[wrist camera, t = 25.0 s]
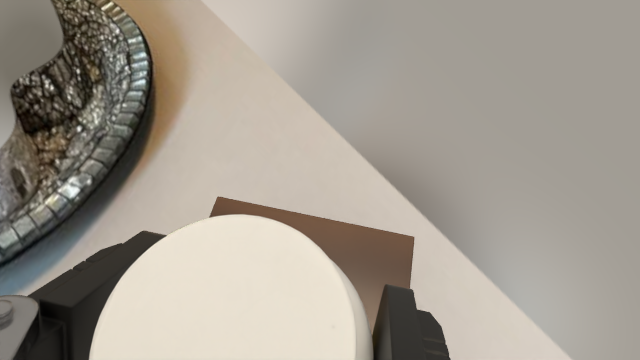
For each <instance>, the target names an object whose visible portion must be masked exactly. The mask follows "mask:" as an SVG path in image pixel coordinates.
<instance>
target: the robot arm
mask: <svg viewBox="0 0 640 360" xmlns="http://www.w3.org/2000/svg"><path fill="white" fill-rule="evenodd" d="M166 236H167V235H162V234H158V233H153V232H148V231H142V232H140V233H139V234H137V235H135V236H134V237H132V238H131V239H129V240H128V241H126V242H125V243H123V244H122V243H120V244H117V245H114V246H111V247H108V248H105V249H102V250H100V251H98V252H97V253H95V254H94V255H92V256H90V257H89V258H87V259H86V261H82V262H81V263H79V264H78V265H76V266H74V268H73V270H72V269H70V270H68V271H67V272H65V273H63V274H62V275H60V276H59V277H57V278H55V279H54V280H52V281H51V282H49V283H47V284H46V285H44V286H43V287H41V288H39V289H38V290H36V291H35V292H33V293H31V294H30V295H28V296H27V297H26V296H22V295H4V296H0V360H89V355H90V349H91V344H92V340H93V336H94V331H95V328H96V326H97V323H98V320H99V317H100V315H101V312H102V310H103V308H104V306H105V304H106V302H107V300H108V298H109V296H110V294H111V293H112V291H113V290H114V288H115V286H116V285H117V283H118V282H119V280H120V279H121V277H122V276H123V275H124V274H125V272H126V271H127V270H128V269H129V267H130V266H131V265H132V264H133V263H134V262H135V261H136V260H137V259H138V258H139V257H140V256H141V255H142V254H143V253H145V252H146V251H147V250H148V249H149V248H150V247H152V246H153V245H154V244H155V243H157V242H158V241H160V240H161V239H163V238H164V237H166ZM372 342H373V355H374V356H373V360H451V359H450V358H449V352H448V349H447V345H445V338H444V334H443V331H442V327H441V326H440V324H439V323H438V322H437V321H436V319H435V318H434V317H433V316H432V314H431V313H430V312H426V311H421V310H417V308H416V303H415V298H414V292H413V290H412V289H408V288H403V287H399V286H394V285H390V284H385V286H384V289H383V292H382V296H381V301H380V305H379V309H378V313H377V317H376V321H375V325H374V329H373V334H372Z"/></svg>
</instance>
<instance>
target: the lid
mask: <svg viewBox="0 0 640 360" xmlns="http://www.w3.org/2000/svg"><path fill="white" fill-rule="evenodd" d="M238 214H244V215H252V216H260V217H264V218H269V219H272V220H275V221H278V222H281V223H283V224H286V225H288V226H290V227H292V228H294V229H296V230H297V231H299V232H301V233H302V234H304V235H305V236H307V237H308V238H309V239H311V240H312V241H313V242H314V243H315V244H316V245H317V246H319V247H320V248H321V249H322V251H323V252H324V253H325V254H326V255H327V256H328V257H329V258H330V259H331V260H332V261H333V262H334V263H335V264H336V265H337V266H338V267H339V268H340V269H341V270H342V271H343V273H344V274H345V275H346V276H347V277H348V279H349V280H350V282H351V283H352V285H353V286H354V288H355V290H356V291H357V293H358V295H359V297H360V299H361V301H362V303H363V306H364V309H365V312H366V314H367V318H368V321H369V325H370V330H371V334H373V329H374V325H375V321H376V317H377V313H378V309H379V305H380V301H381V296H382V292H383V289H384V286H385V284H390V285H394V286H399V287H403V288H408V289H410V280H411V269H412V258H413V248H414V237H412V236H407V235H403V234H398V233H393V232H388V231H383V230H378V229H373V228H369V227H364V226H359V225H354V224H349V223H344V222H339V221H335V220H330V219H325V218H320V217H315V216H310V215H305V214H301V213H296V212H291V211H286V210H281V209H276V208H271V207H267V206H262V205H257V204H252V203H247V202H242V201H237V200H233V199H228V198H223V197H217V199H216V202H215V204H214V207H213V209H212V212H211V215H210V217H209V218H211V217H216V216H223V215H238Z"/></svg>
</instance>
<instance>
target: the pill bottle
mask: <svg viewBox="0 0 640 360" xmlns="http://www.w3.org/2000/svg"><path fill="white" fill-rule="evenodd" d="M373 356H374V355H373V342H372V334H371V330H370V325H369V321H368V318H367V314H366V312H365V309H364V306H363V303H362V301H361V299H360V297H359V295H358V293H357V291H356V290H355V288H354V286H353V285H352V283H351V282H350V280H349V279H348V277H347V276H346V275H345V274H344V273H343V271H342V270H341V269H340V268H339V267H338V266H337V265H336V264H335V263H334V262H333V261H332V260H331V259H330V258H329V257H328V256H327V255H326V254H325V253H324V252H323V251H322V249H321V248H320V247H319V246H317V245H316V244H315V243H314V242H313V241H312V240H311V239H309V238H308V237H307V236H305V235H304V234H302V233H301V232H299V231H297V230H296V229H294V228H292V227H290V226H288V225H286V224H283V223H281V222H278V221H275V220H272V219H269V218H264V217H260V216H252V215H244V214H238V215H223V216H216V217H211V218H206V219H203V220H200V221H197V222H194V223H192V224H189V225H187V226H184V227H182V228H180V229H178V230H176V231H174V232H172V233H170V234H169V235H167V236H166V237H164V238H163V239H161V240H160V241H158V242H157V243H155V244H154V245H153V246H152V247H150V248H149V249H148V250H147V251H146V252H145V253H143V254H142V255H141V256H140V257H139V258H138V259H137V260H136V261H135V262H134V263H133V264H132V265H131V266H130V267H129V269H128V270H127V271H126V272H125V274H124V275H123V276H122V277H121V279H120V280H119V282H118V283H117V285H116V286H115V288H114V290H113V291H112V293H111V294H110V296H109V298H108V300H107V302H106V304H105V306H104V308H103V310H102V312H101V315H100V317H99V320H98V323H97V326H96V328H95V331H94V336H93V340H92V344H91V349H90V355H89V360H373Z"/></svg>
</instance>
